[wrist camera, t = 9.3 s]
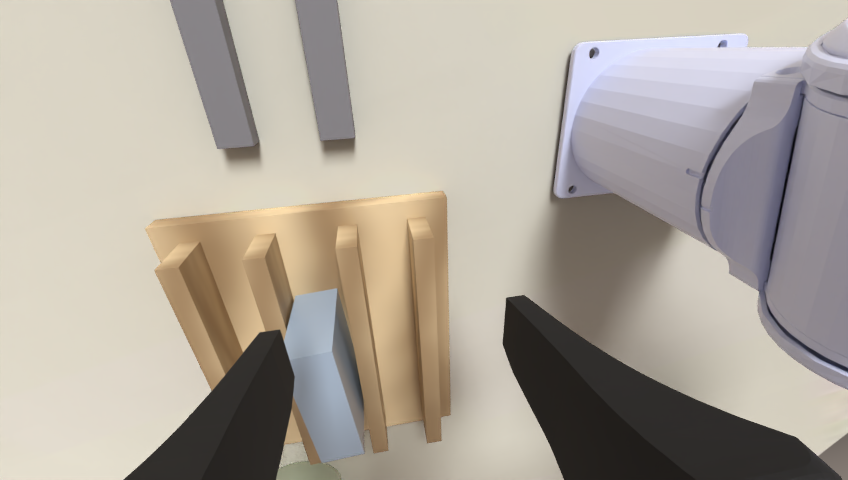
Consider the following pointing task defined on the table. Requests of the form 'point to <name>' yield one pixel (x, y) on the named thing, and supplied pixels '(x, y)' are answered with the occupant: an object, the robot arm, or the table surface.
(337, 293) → the light blue slab
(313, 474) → the pale green cylinder
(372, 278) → the dish rack
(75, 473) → the table surface
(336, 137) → the drying stand
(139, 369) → the table surface
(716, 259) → the table surface
